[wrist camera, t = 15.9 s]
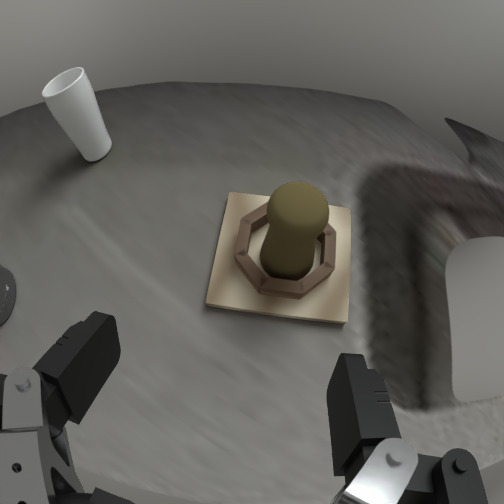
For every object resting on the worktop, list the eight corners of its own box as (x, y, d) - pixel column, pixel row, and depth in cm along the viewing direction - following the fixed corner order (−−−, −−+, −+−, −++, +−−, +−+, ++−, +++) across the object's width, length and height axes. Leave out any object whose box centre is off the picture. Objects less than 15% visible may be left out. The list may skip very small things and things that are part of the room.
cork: (324, 263, 32) (353, 211, 22) (280, 293, 31) (292, 249, 21) (293, 223, 35) (307, 160, 25) (249, 248, 33) (246, 190, 23)
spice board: (207, 305, 32) (201, 297, 29) (230, 197, 38) (228, 180, 34) (344, 324, 31) (354, 317, 28) (347, 213, 36) (355, 198, 33)
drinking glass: (80, 172, 40) (37, 104, 26) (80, 145, 43) (45, 81, 29) (118, 156, 41) (82, 81, 27) (115, 130, 44) (85, 60, 30)
